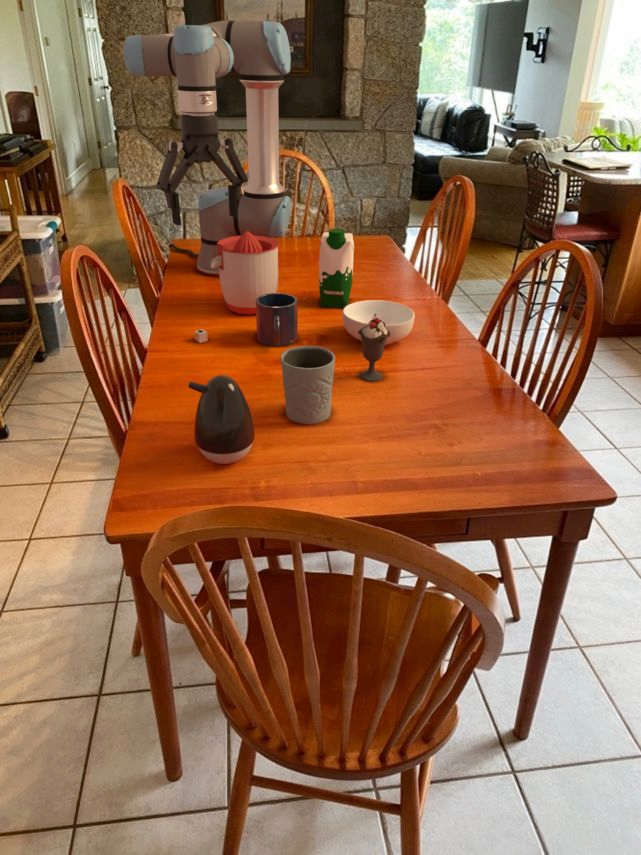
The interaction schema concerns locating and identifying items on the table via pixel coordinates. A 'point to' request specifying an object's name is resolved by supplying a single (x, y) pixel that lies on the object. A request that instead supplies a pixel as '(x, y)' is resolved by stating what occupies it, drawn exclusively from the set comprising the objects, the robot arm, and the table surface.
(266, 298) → the mug
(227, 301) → the citrus juicer
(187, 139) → the robot arm
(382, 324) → the sundae
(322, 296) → the milk carton
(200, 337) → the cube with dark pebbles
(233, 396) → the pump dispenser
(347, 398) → the table surface
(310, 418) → the grey embossed cup
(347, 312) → the cereal bowl
